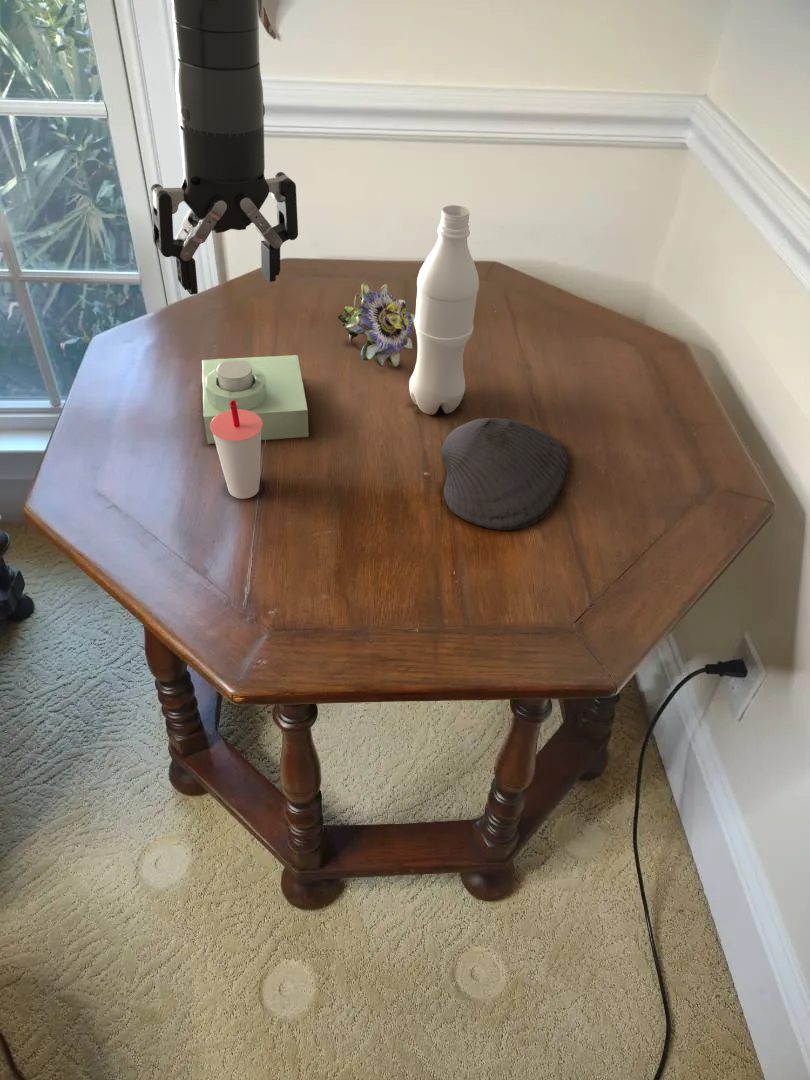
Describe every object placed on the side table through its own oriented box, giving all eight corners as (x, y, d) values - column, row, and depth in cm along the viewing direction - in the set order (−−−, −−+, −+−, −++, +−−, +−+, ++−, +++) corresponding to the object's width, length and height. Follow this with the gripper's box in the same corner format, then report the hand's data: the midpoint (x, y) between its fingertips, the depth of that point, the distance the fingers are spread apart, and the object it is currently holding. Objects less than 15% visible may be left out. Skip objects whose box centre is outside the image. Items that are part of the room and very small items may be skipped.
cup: (240, 511, 84) (229, 422, 75) (209, 488, 86) (195, 399, 77) (277, 489, 86) (271, 401, 78) (247, 466, 89) (237, 378, 80)
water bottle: (470, 397, 101) (498, 206, 84) (450, 426, 97) (474, 230, 79) (421, 382, 103) (438, 192, 85) (398, 409, 98) (411, 214, 81)
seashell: (410, 508, 89) (408, 458, 83) (491, 415, 99) (496, 365, 93) (518, 560, 84) (525, 511, 78) (593, 457, 94) (604, 407, 88)
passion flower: (390, 396, 110) (380, 364, 98) (328, 360, 111) (310, 324, 100) (432, 331, 111) (426, 292, 99) (369, 297, 112) (356, 254, 101)
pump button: (219, 394, 89) (217, 379, 88) (218, 375, 92) (216, 360, 90) (254, 392, 90) (252, 377, 88) (252, 373, 92) (250, 358, 91)
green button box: (207, 444, 91) (201, 402, 87) (206, 386, 99) (200, 345, 95) (308, 436, 93) (307, 395, 89) (298, 381, 102) (297, 341, 97)
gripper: (277, 99, 74) (278, 260, 86) (129, 106, 68) (151, 278, 80) (311, 125, 70) (307, 291, 81) (156, 135, 64) (175, 313, 75)
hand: (230, 284), depth 80 cm, fingers open, 8 cm apart
